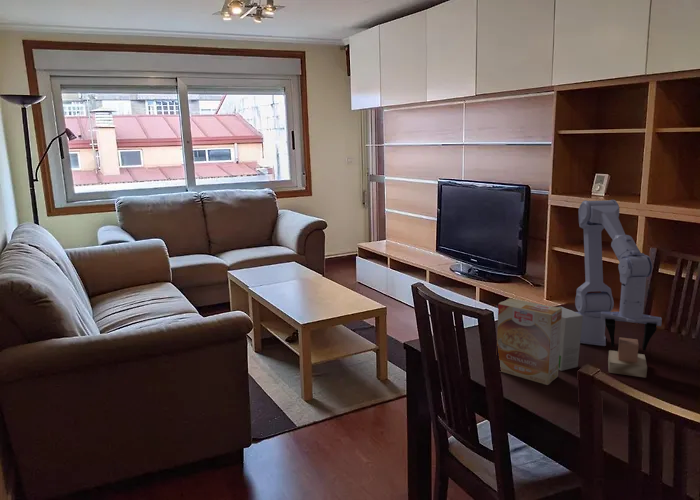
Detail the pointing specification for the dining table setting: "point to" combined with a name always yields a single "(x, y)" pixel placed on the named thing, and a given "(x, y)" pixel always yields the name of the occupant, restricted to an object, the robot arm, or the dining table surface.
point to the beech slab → (627, 365)
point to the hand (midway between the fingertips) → (628, 347)
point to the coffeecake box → (529, 340)
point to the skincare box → (569, 339)
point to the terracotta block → (628, 349)
